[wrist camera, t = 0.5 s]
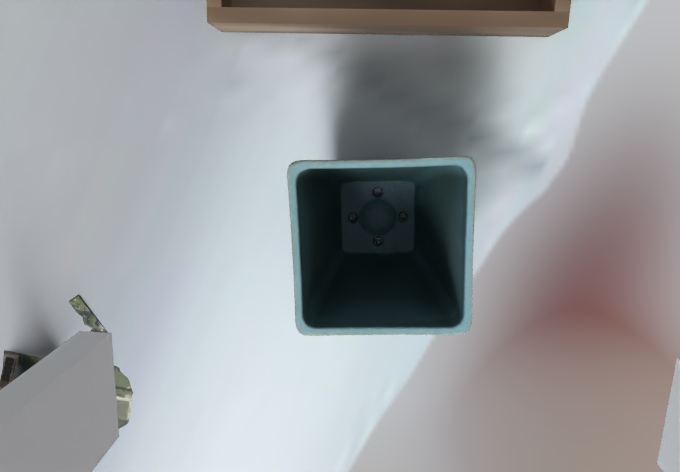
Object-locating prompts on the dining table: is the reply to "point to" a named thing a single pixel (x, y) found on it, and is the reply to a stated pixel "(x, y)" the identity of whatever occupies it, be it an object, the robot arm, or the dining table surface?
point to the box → (392, 17)
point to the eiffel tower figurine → (21, 363)
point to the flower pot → (383, 245)
